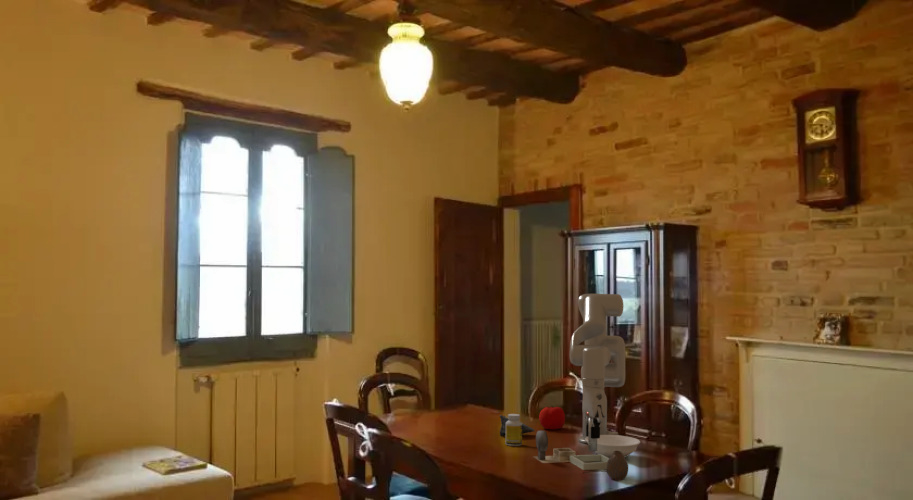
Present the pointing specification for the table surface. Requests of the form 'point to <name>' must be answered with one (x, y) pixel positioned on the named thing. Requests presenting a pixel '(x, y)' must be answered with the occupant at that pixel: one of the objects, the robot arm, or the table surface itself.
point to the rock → (503, 428)
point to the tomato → (552, 417)
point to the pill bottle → (513, 430)
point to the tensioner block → (558, 453)
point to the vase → (617, 466)
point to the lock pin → (591, 442)
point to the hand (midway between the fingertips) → (592, 436)
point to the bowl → (615, 444)
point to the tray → (580, 460)
